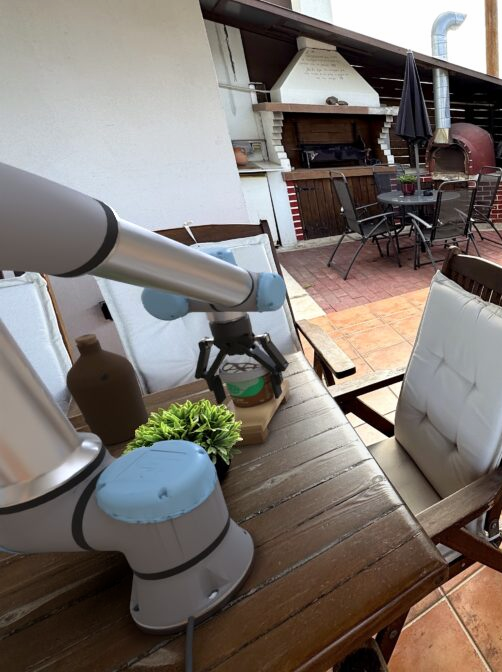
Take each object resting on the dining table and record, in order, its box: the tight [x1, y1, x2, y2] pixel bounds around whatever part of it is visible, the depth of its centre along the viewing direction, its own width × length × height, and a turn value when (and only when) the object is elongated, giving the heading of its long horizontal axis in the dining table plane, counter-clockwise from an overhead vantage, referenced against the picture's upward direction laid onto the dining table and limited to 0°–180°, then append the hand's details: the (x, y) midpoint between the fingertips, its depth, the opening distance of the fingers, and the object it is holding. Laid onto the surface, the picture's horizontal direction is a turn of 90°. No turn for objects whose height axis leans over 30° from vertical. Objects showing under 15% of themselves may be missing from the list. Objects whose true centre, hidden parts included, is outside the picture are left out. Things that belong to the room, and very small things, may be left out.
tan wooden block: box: [225, 379, 291, 447], centre depth 97 cm, size 18×11×5 cm, turn 10°
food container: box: [218, 358, 274, 408], centre depth 95 cm, size 12×6×10 cm, turn 83°
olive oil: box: [65, 333, 150, 446], centre depth 90 cm, size 11×11×25 cm
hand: (250, 398), depth 96 cm, fingers closed on food container, 12 cm apart
